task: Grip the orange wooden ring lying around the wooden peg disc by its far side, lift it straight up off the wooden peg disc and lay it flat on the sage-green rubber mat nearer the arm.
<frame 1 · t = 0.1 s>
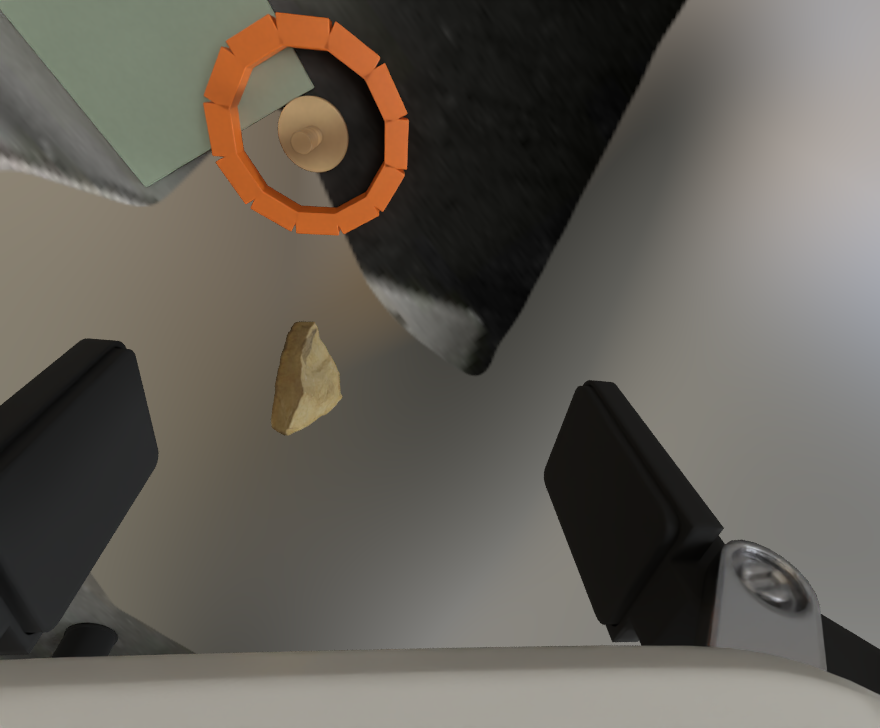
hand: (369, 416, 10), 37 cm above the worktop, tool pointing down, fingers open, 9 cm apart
aerosol can: (92, 633, 77), on the worktop
rock: (318, 359, 52), on the worktop
ring: (314, 134, 39), on the worktop, touching mat
wooden peg disc: (314, 134, 39), on the worktop
mat: (149, 22, 34), on the worktop
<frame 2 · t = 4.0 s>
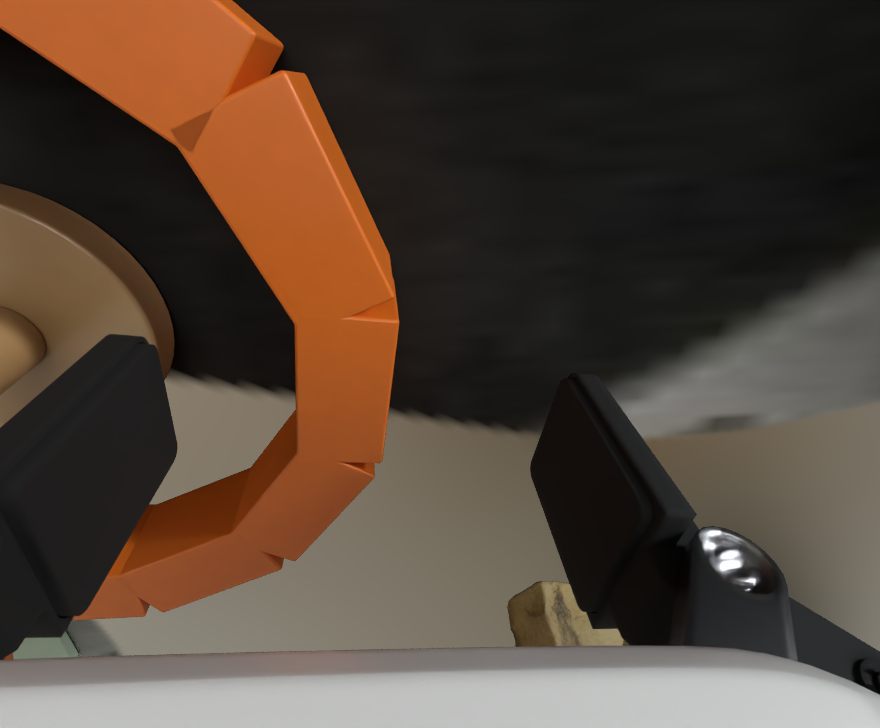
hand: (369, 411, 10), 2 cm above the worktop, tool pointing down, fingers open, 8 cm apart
rock: (610, 598, 21), on the worktop
ring: (26, 320, 10), on the worktop, touching mat
wooden peg disc: (34, 315, 10), on the worktop
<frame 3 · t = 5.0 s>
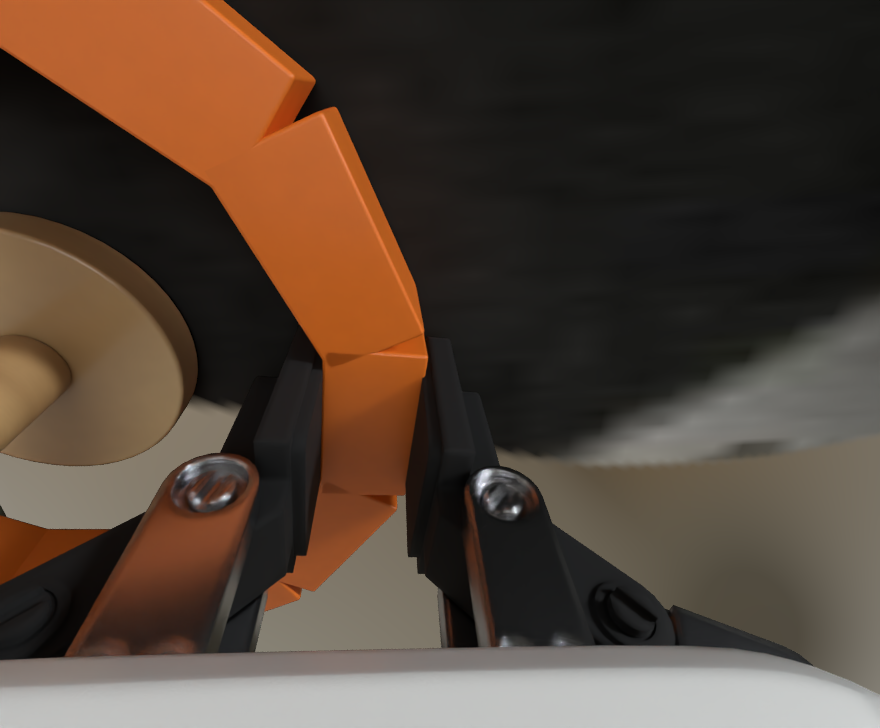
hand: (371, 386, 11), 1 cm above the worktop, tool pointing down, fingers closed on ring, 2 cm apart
ring: (51, 349, 10), on the worktop, touching gripper, mat
wooden peg disc: (59, 343, 10), on the worktop
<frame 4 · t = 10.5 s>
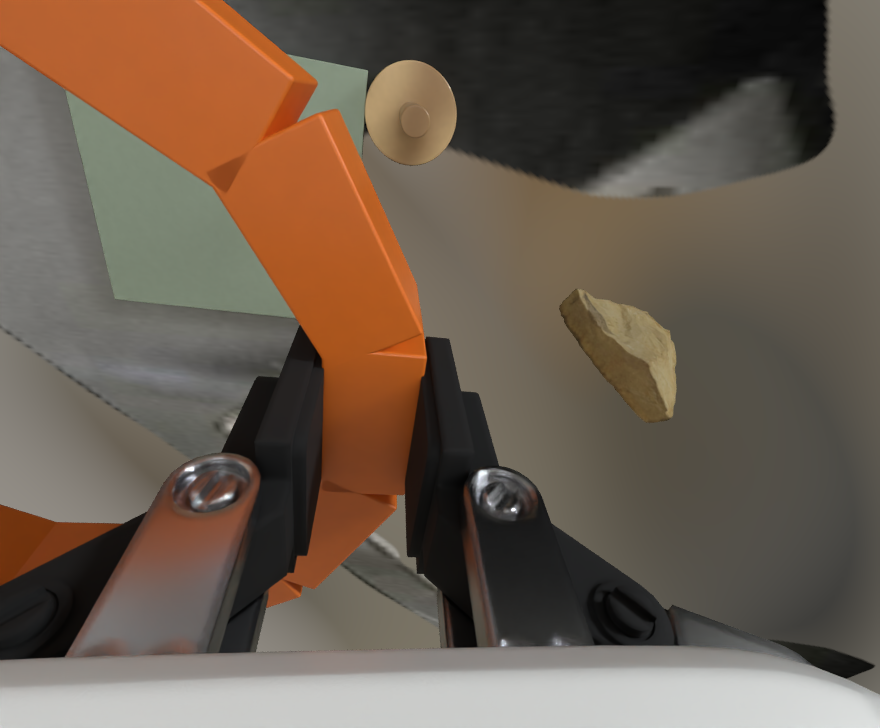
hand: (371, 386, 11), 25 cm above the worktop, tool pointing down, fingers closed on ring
rock: (611, 318, 40), on the worktop
ring: (60, 345, 10), point 24 cm above the worktop, touching gripper
wooden peg disc: (410, 115, 29), on the worktop
mat: (229, 195, 31), on the worktop
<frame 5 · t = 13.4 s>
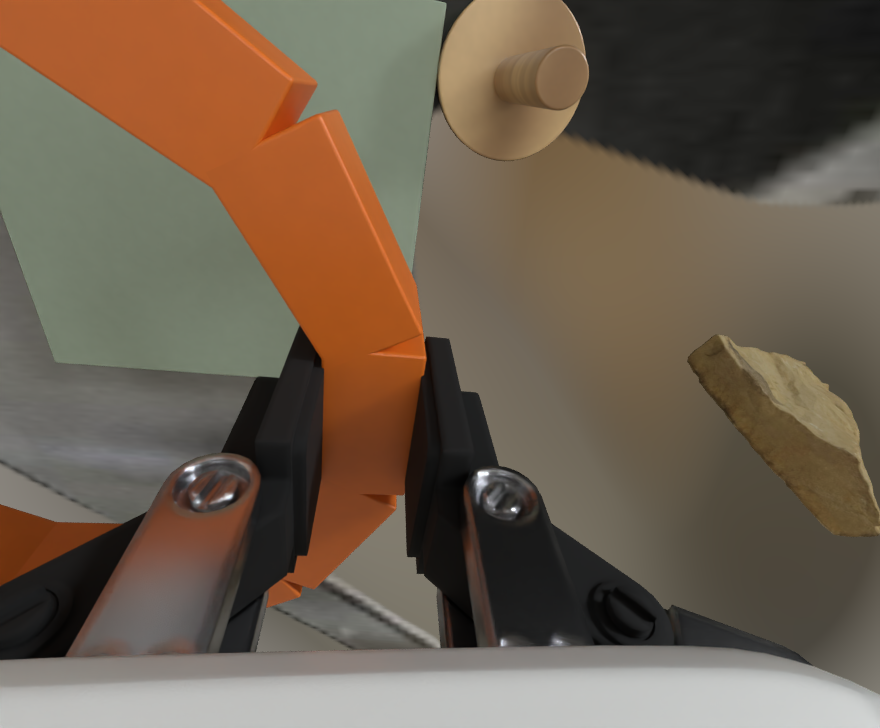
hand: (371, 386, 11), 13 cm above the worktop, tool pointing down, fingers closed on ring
rock: (751, 370, 29), on the worktop
ring: (60, 346, 10), point 12 cm above the worktop, touching gripper
wooden peg disc: (507, 80, 18), on the worktop
mat: (221, 210, 20), on the worktop
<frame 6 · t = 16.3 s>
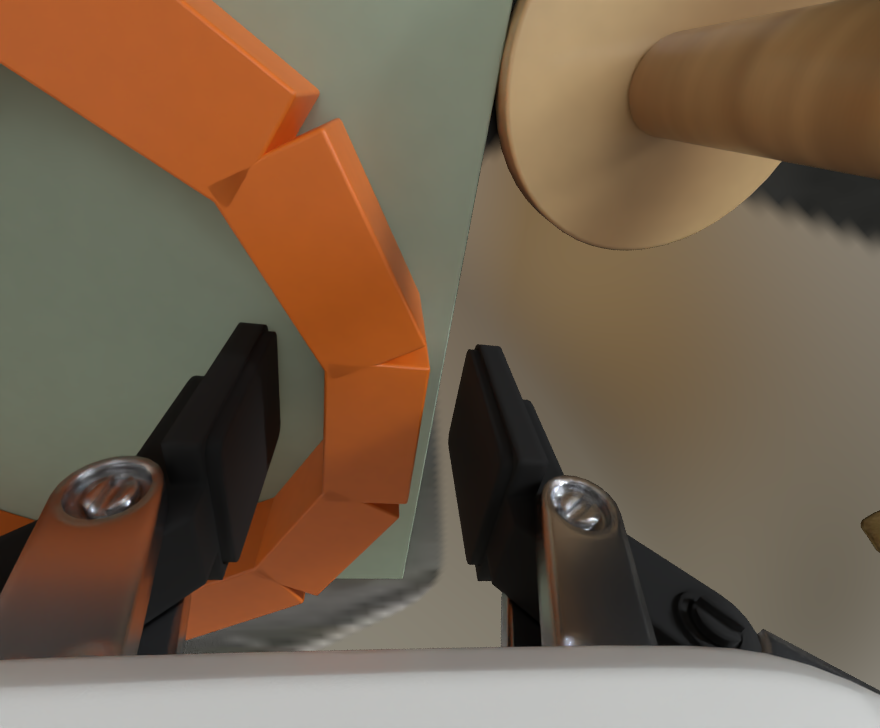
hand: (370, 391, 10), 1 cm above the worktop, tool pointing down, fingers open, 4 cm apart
ring: (61, 354, 10), resting on mat
wooden peg disc: (643, 86, 9), on the worktop
mat: (65, 338, 10), on the worktop
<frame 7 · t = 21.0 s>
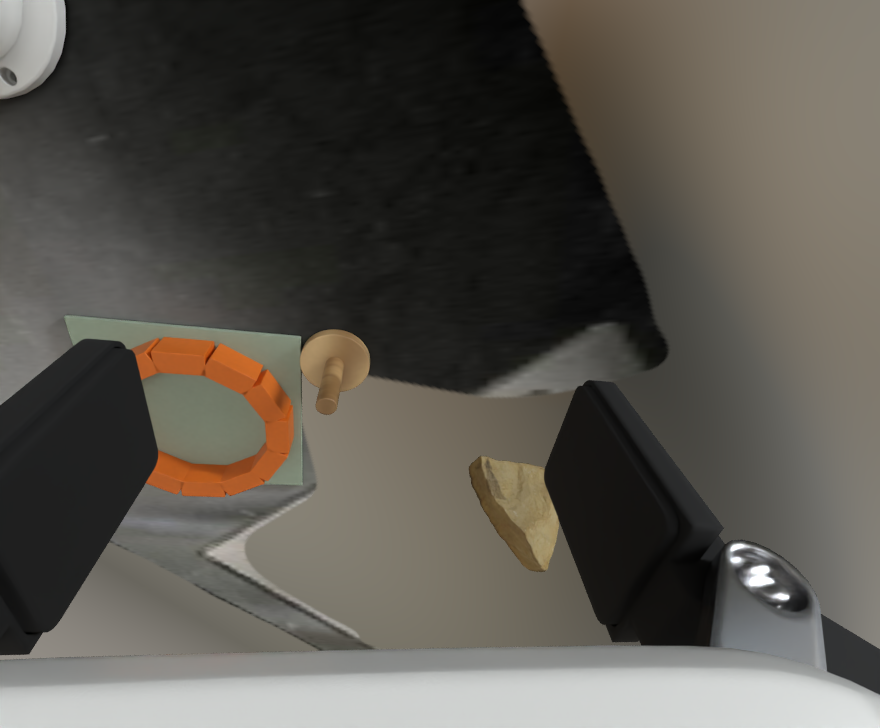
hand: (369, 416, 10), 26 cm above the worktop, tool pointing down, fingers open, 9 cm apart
rock: (513, 470, 49), on the worktop
ring: (201, 415, 41), resting on mat
wooden peg disc: (336, 358, 39), on the worktop
mat: (202, 411, 41), on the worktop
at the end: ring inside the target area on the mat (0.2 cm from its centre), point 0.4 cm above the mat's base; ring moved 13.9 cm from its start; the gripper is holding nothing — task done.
